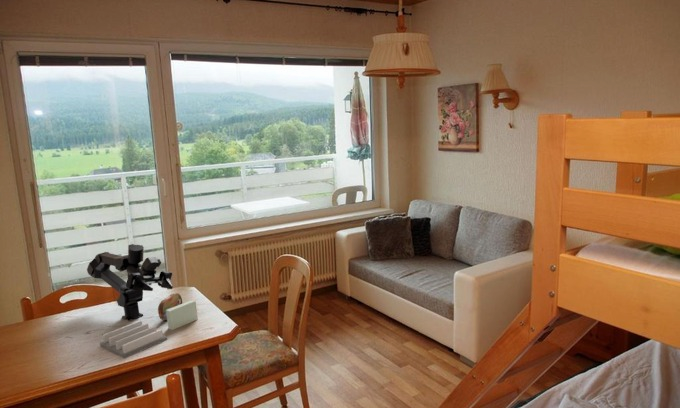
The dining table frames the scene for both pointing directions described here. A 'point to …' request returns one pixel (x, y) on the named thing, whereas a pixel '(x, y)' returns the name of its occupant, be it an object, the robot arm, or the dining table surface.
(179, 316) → the plate slab
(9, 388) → the dining table surface
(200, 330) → the dining table surface
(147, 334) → the dish rack
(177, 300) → the tin
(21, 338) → the dining table surface
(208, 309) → the dining table surface
